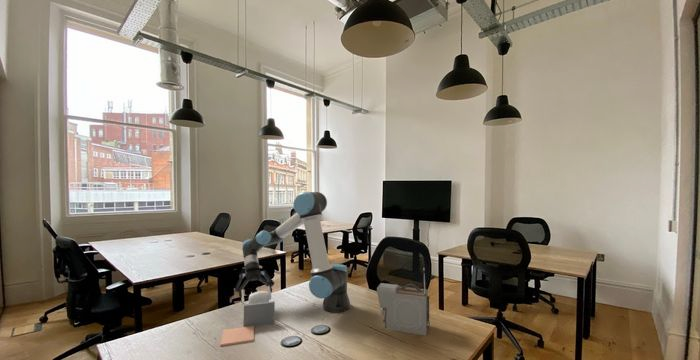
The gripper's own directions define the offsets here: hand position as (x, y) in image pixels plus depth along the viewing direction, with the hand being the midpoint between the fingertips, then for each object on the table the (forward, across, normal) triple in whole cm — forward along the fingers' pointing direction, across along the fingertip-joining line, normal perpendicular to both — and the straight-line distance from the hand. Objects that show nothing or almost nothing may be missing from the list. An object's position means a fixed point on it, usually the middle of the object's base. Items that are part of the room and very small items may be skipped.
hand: (257, 300), depth 148 cm
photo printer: (+7, -1, -4) cm, 8 cm away
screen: (+13, +1, +3) cm, 14 cm away
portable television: (+39, -57, +28) cm, 75 cm away
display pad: (+18, +12, +8) cm, 23 cm away
